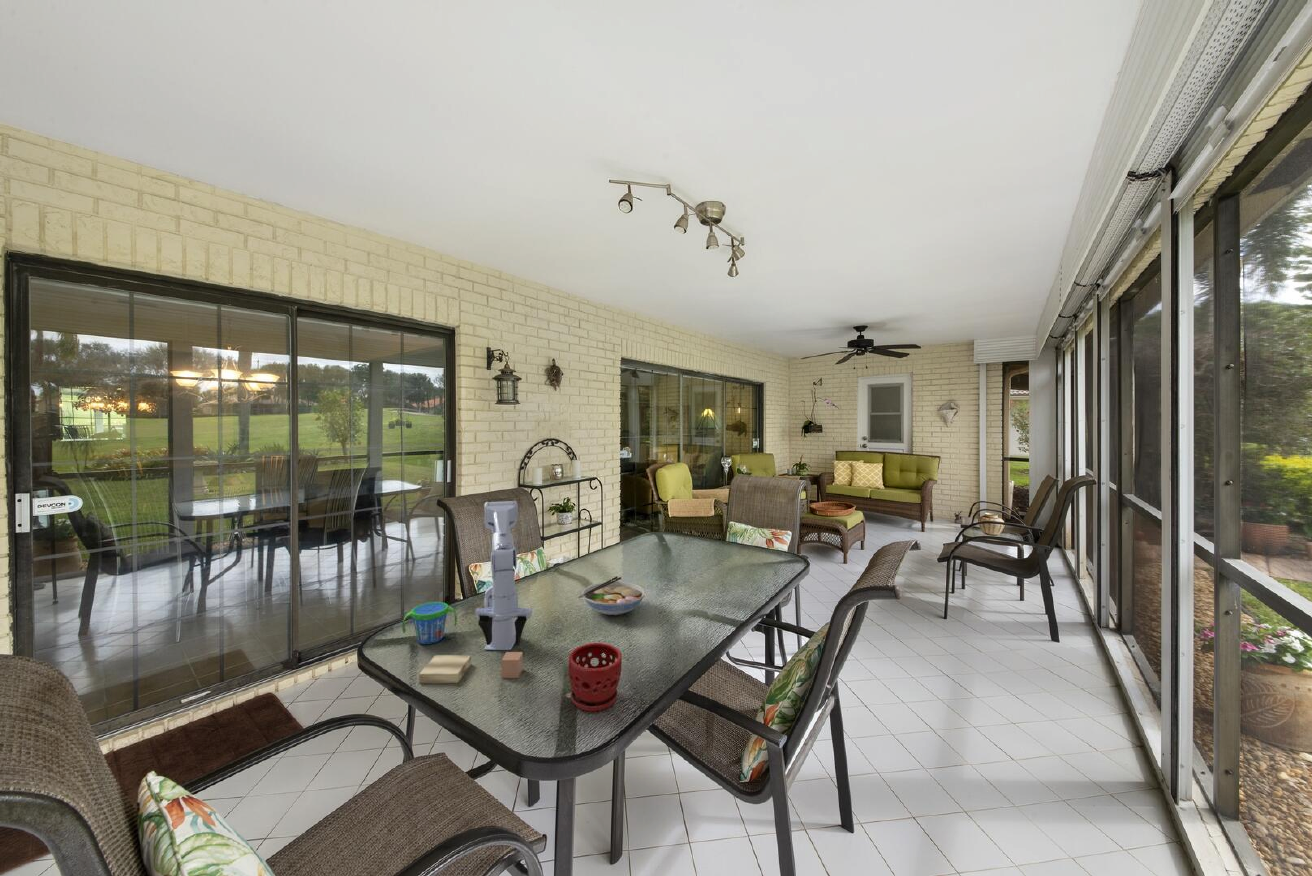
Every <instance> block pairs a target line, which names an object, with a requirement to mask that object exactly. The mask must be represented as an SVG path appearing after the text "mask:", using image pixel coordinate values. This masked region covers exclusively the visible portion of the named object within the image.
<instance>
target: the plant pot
mask: <svg viewBox="0 0 1312 876" xmlns="http://www.w3.org/2000/svg"><path fill="white" fill-rule="evenodd" d="M589 654H591V655H590V656H589ZM602 654H605V657H604V656H603V655H602ZM577 659H578V660H577ZM583 659H584V660H583ZM592 659H597V660H598V663H597V664H595V665H592V663H591V661H592ZM622 660H623V658H622V652H621V651H620V650H619V649H618V648H617V647H616V646H613V644H608V643H605V642H591V643H586V644H582V645H580V646H577V647H575V648H574V649H573V650H572V651H571V652H570V653H569V655H568V680H569V684H570V687H571V689H572V690H571V693H570V699H571V702H572V703H573V705H575V706H576V707H577V708H579V709H581V710H583V711H588V712H596V711H597V710H599V711H603V710H605V708H606V709H608V708H609V707H610V706H612V705H613V704H614V703H615V702H616V701H617V698H618V695H619V693H618V689H617V688H618V686H619V684H620V683H619V682H620V679H621V674H622V664H623V663H622V662H623V661H622ZM603 662H605V664H604V663H603ZM586 665H587V667H586ZM607 707H608V708H607ZM602 709H603V710H602ZM597 712H598V711H597Z"/></svg>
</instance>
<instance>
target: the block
mask: <svg viewBox="0 0 1312 876" xmlns="http://www.w3.org/2000/svg"><path fill="white" fill-rule="evenodd" d="M523 654H524V653H523V651H505V654H504V655H503V657H502V659H501V679H519V678H520V676H521V673H522V672H523V668H524V666H523V661H524V660H523Z"/></svg>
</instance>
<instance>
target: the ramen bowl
mask: <svg viewBox="0 0 1312 876" xmlns="http://www.w3.org/2000/svg"><path fill="white" fill-rule="evenodd" d="M619 580H620V581H619ZM621 580H622V576H617V575H616V576H614V577H612V578H611V579H608V580H607V581H603V582H597V583H594V584H591V585H588V586H587V587H585V588H584V589H583V590H582V592H581V593H582V594H581V595H580V596H578V597H577V599H581V598H584V599H583V600H584V601H585V602H586V603H587V604H588V605H589V606H590V607H591V609H592V610H594V611H596V612H598V613H600V614H604V615H607V616H611V615H614V616H620V615H622V614H626V613H629V612H630V611H632V610H634V609H635V608H637V607H638V605H639V604H640V603H642V600H643V599H644V597H645V594H646V590H645V588H643V587H642V586H641V585H638V584H636V583H634V582H633V583H632V582H629V581H628V582H627V581H621Z"/></svg>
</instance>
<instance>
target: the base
mask: <svg viewBox="0 0 1312 876" xmlns="http://www.w3.org/2000/svg"><path fill="white" fill-rule="evenodd" d="M471 665H472V655H468V654H467V655H466V654H465V655H464V654H463V655H457V654H456V655H455V654H454V655H453V654H452V655H451V654H449V655H448V654H447V655H445V654H444V655H442V654H441V655H440V654H439V655H438V654H437V655H436V654H435V655H434V656H433V657H432V659H431V660H430V661H429V662H428V663H427V664H426V665H425V666H424V668H422V670H421V671H420V672H419V674H418V676H419V677H418V683H419V684H458V683H460V681H461V679H462V678H463V676H464V675H465V673H466V672H467V671H468V669H469V668H470V666H471Z"/></svg>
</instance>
